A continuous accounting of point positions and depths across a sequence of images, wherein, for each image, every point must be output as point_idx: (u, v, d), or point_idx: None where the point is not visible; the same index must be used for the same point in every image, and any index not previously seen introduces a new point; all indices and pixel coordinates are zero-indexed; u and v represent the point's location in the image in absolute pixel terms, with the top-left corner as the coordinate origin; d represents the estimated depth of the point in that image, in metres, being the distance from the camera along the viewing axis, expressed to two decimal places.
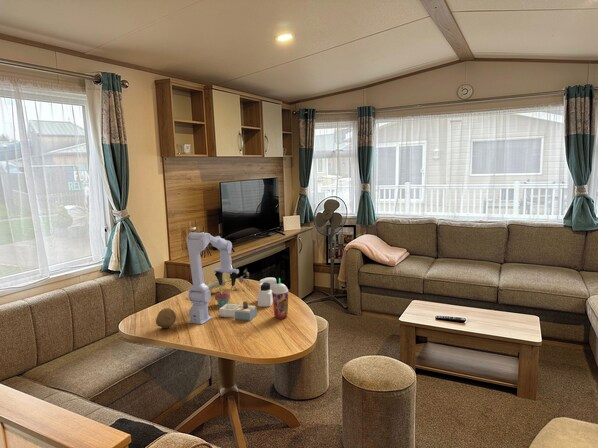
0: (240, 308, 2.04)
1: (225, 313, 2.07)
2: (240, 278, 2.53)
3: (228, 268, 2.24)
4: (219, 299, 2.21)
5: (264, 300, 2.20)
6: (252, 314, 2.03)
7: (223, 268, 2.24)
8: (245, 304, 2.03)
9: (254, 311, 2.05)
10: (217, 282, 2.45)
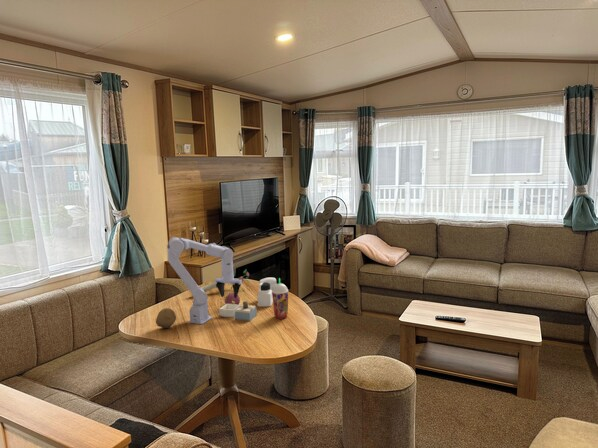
0: (240, 308, 2.04)
1: (225, 313, 2.07)
2: (240, 278, 2.52)
3: (230, 278, 2.06)
4: (225, 301, 2.18)
5: (264, 300, 2.20)
6: (252, 314, 2.03)
7: (225, 278, 2.05)
8: (245, 304, 2.03)
9: (254, 311, 2.05)
10: None
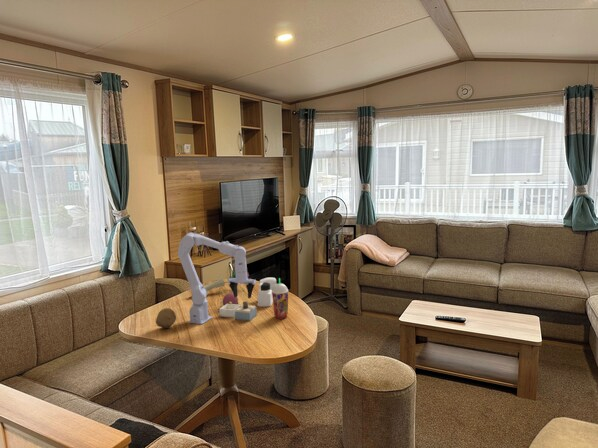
0: (240, 308, 2.04)
1: (225, 313, 2.07)
2: None
3: (244, 278, 2.01)
4: (223, 303, 2.18)
5: (264, 300, 2.20)
6: (252, 314, 2.03)
7: (238, 278, 2.01)
8: (245, 304, 2.03)
9: (254, 311, 2.05)
10: (216, 282, 2.45)
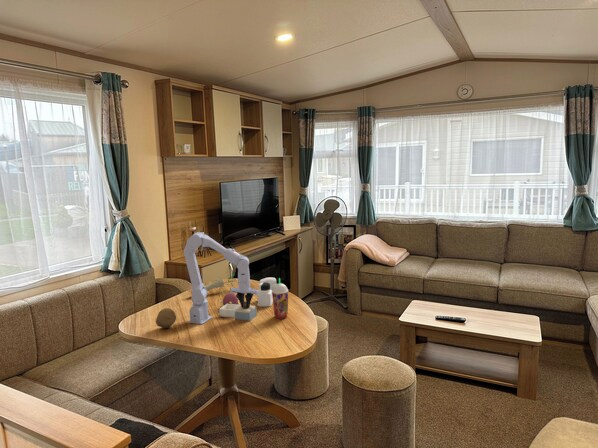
0: (240, 308, 2.04)
1: (225, 313, 2.07)
2: None
3: (247, 288, 2.01)
4: (223, 303, 2.18)
5: (264, 300, 2.20)
6: (252, 314, 2.03)
7: (241, 289, 2.01)
8: (245, 304, 2.03)
9: (254, 311, 2.05)
10: (215, 283, 2.44)
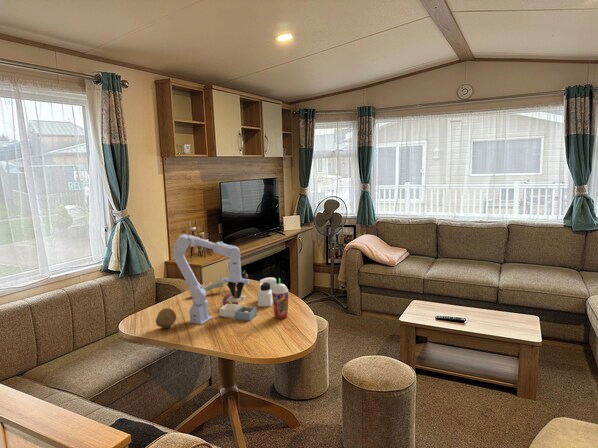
0: (231, 297, 2.06)
1: (225, 313, 2.07)
2: None
3: (238, 278, 2.03)
4: (223, 303, 2.18)
5: (264, 300, 2.20)
6: (252, 314, 2.03)
7: (232, 278, 2.02)
8: (236, 293, 2.05)
9: (254, 311, 2.05)
10: (215, 283, 2.44)
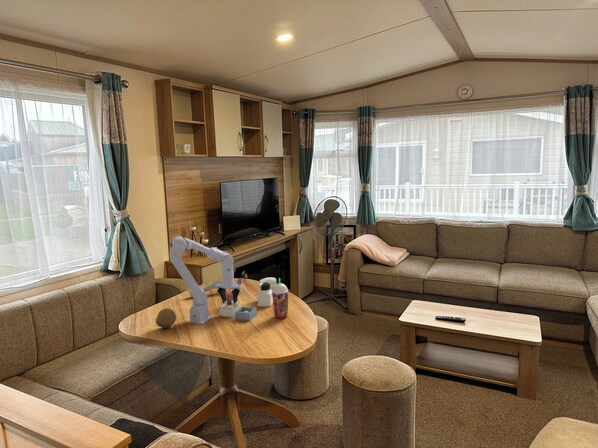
0: (224, 304, 2.09)
1: (225, 313, 2.07)
2: (238, 280, 2.49)
3: (231, 284, 2.06)
4: None
5: (264, 300, 2.20)
6: (252, 314, 2.03)
7: (225, 284, 2.06)
8: (229, 301, 2.08)
9: (254, 311, 2.05)
10: (214, 283, 2.43)
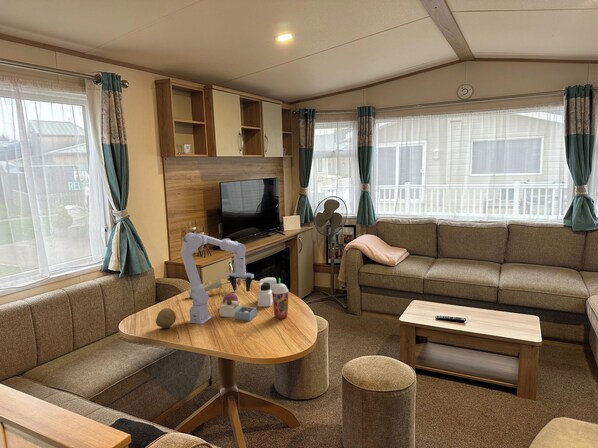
0: (224, 304, 2.09)
1: (225, 313, 2.07)
2: (237, 280, 2.48)
3: (243, 273, 2.12)
4: None
5: (264, 300, 2.20)
6: (252, 314, 2.03)
7: (237, 273, 2.12)
8: (229, 301, 2.08)
9: (254, 311, 2.05)
10: (213, 284, 2.42)
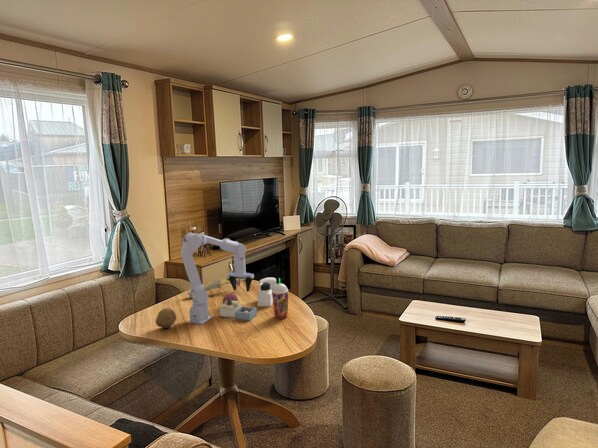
0: (224, 304, 2.09)
1: (225, 313, 2.07)
2: (237, 281, 2.47)
3: (243, 273, 2.12)
4: None
5: (264, 300, 2.20)
6: (252, 314, 2.03)
7: (237, 273, 2.12)
8: (229, 301, 2.08)
9: (254, 311, 2.05)
10: (212, 284, 2.42)
